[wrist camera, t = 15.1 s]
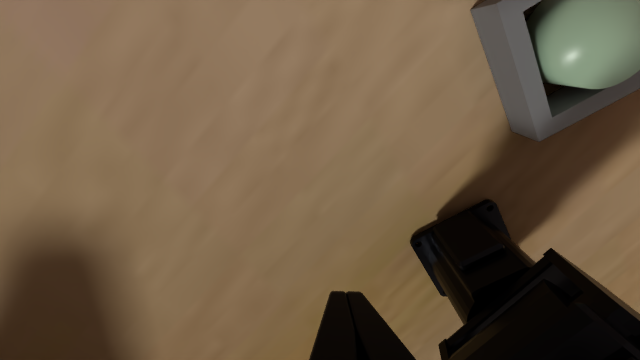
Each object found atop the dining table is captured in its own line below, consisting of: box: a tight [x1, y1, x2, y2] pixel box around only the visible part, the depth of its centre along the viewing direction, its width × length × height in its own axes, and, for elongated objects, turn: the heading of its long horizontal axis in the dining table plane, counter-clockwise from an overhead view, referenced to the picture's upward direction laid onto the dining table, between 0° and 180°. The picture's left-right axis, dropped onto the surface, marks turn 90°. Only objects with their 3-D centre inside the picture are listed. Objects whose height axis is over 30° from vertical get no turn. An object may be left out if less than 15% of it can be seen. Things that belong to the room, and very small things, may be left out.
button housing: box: [471, 0, 640, 142], centre depth 16 cm, size 8×8×2 cm
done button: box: [526, 0, 640, 89], centre depth 15 cm, size 5×5×3 cm
